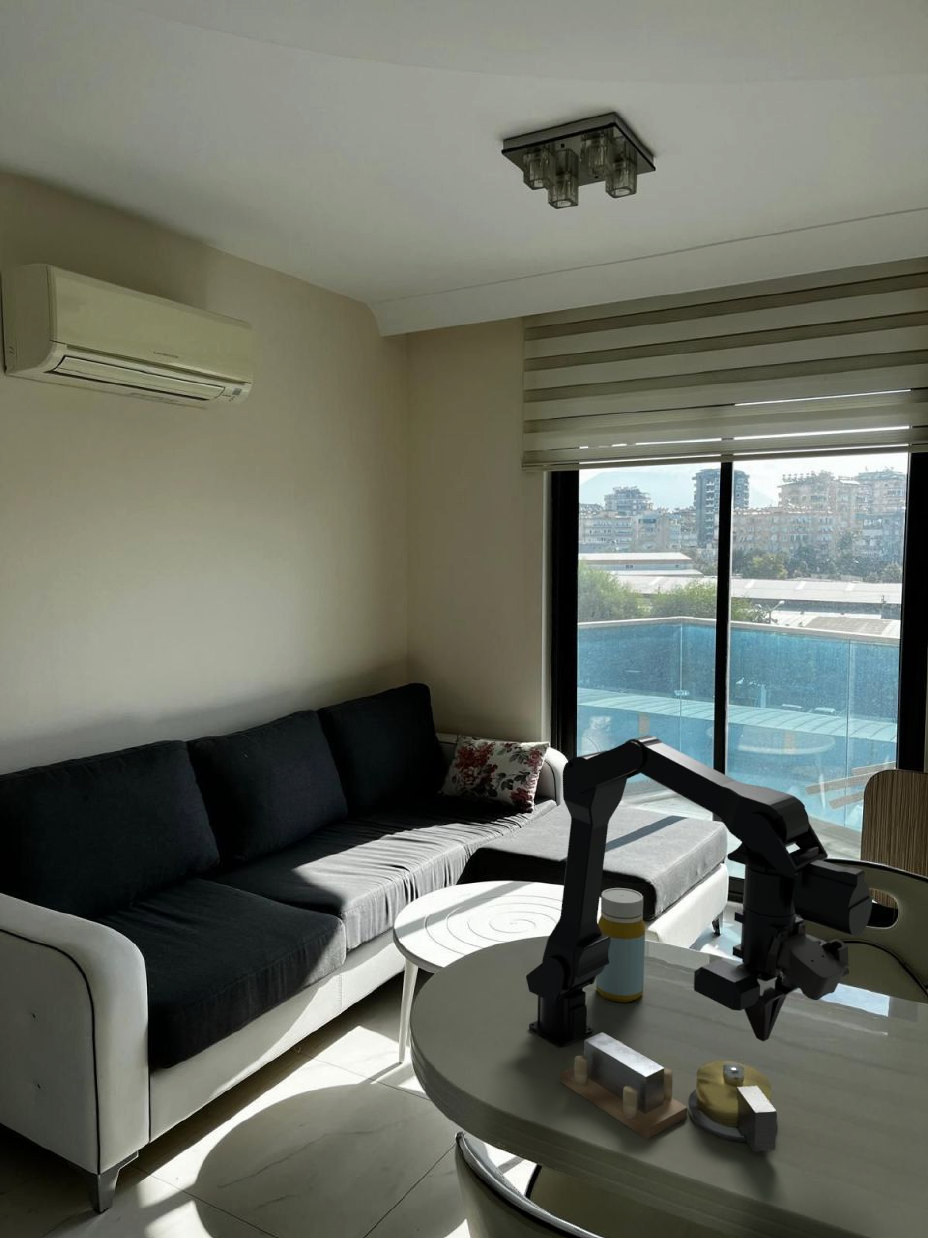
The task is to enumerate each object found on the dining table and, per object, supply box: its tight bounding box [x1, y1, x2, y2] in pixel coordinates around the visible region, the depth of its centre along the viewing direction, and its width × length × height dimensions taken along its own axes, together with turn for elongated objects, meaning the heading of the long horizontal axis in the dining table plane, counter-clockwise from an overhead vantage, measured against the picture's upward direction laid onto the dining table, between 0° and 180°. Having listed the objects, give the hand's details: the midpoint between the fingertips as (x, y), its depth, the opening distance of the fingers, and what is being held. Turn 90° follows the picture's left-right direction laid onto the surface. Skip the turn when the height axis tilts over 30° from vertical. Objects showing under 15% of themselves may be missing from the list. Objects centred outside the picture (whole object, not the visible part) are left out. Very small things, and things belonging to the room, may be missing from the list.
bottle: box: [595, 887, 646, 1003], centre depth 139 cm, size 7×7×15 cm
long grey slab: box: [583, 1032, 665, 1114], centre depth 112 cm, size 10×3×4 cm, turn 38°
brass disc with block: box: [695, 1060, 778, 1152], centre depth 107 cm, size 13×8×4 cm
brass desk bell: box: [687, 1062, 778, 1143], centre depth 109 cm, size 10×10×6 cm
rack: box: [560, 1039, 688, 1140], centre depth 112 cm, size 14×8×4 cm, turn 38°
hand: (762, 1039), depth 106 cm, fingers closed
